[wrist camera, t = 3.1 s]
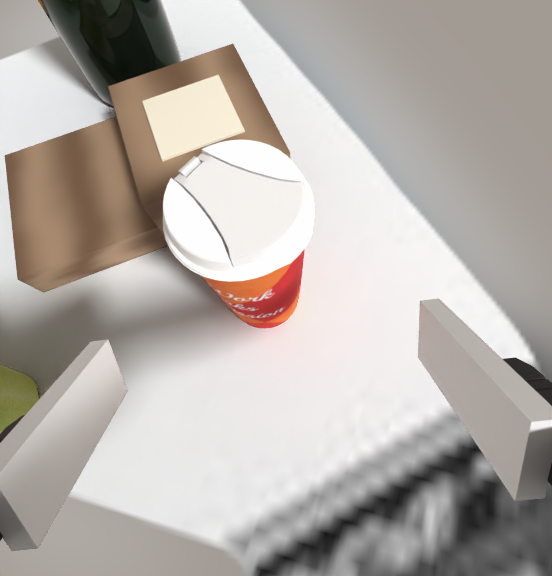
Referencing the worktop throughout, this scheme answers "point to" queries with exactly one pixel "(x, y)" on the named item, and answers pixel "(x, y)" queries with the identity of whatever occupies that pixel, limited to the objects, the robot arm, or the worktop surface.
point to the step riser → (126, 167)
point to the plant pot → (15, 395)
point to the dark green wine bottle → (114, 38)
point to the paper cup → (242, 226)
